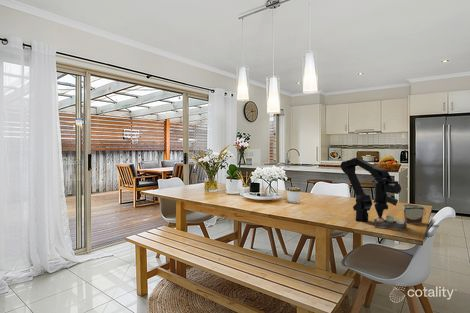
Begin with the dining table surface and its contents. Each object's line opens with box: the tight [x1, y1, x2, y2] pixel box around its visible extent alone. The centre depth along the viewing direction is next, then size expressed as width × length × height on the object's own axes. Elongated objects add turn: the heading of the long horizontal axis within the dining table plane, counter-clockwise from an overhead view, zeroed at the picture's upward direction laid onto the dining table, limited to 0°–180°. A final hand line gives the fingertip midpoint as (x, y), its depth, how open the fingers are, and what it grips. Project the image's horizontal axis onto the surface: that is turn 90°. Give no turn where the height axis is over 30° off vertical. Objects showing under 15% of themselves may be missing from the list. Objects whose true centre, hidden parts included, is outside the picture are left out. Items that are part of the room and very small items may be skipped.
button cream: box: [395, 218, 405, 224], centre depth 154 cm, size 4×4×3 cm
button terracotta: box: [376, 217, 385, 222], centre depth 158 cm, size 4×4×3 cm
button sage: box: [385, 215, 395, 223], centre depth 156 cm, size 4×4×3 cm
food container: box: [402, 204, 425, 224], centre depth 167 cm, size 12×6×10 cm, turn 92°
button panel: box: [374, 218, 408, 232], centre depth 156 cm, size 15×9×3 cm, turn 66°
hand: (380, 218), depth 158 cm, fingers closed, pressing on button terracotta
